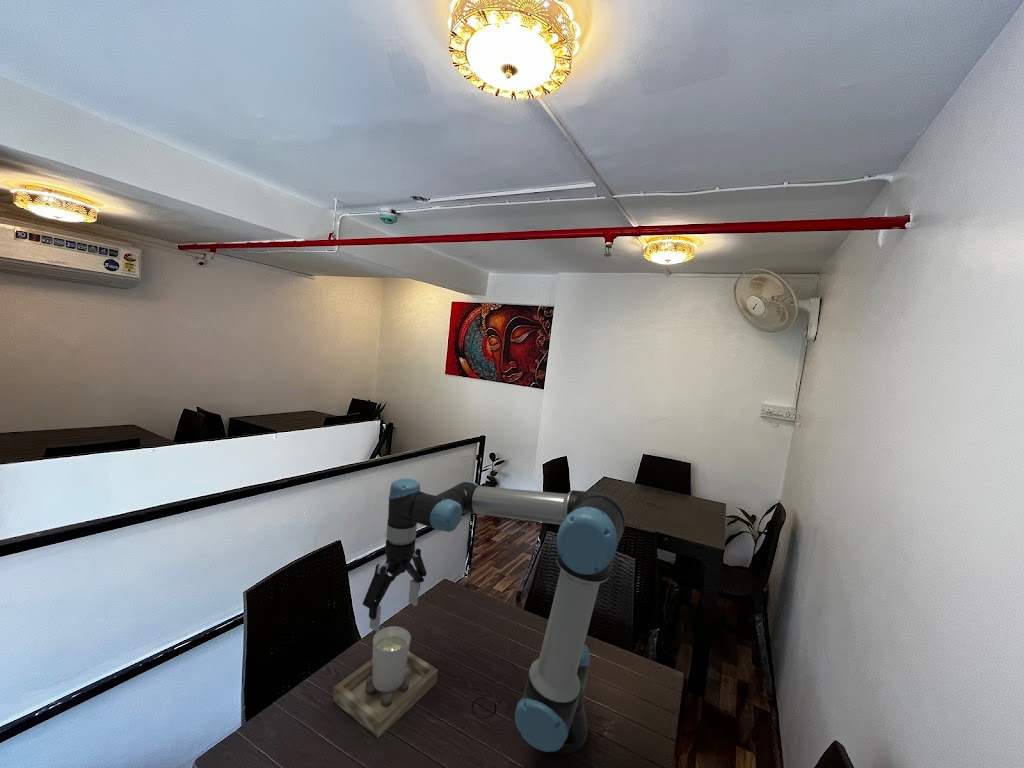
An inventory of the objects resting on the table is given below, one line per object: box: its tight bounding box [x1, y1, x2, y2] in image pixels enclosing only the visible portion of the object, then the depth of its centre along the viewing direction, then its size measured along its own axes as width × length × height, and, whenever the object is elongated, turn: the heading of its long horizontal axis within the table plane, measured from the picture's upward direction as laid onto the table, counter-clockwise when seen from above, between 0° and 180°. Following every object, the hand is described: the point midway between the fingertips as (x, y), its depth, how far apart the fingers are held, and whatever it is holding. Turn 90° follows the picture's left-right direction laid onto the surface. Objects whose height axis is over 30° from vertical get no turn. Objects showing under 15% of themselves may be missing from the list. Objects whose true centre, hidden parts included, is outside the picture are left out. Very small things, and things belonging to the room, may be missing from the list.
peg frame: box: [332, 650, 439, 739], centre depth 114 cm, size 17×21×4 cm
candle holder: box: [372, 625, 412, 692], centre depth 113 cm, size 10×10×12 cm
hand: (394, 615), depth 112 cm, fingers open, 13 cm apart
